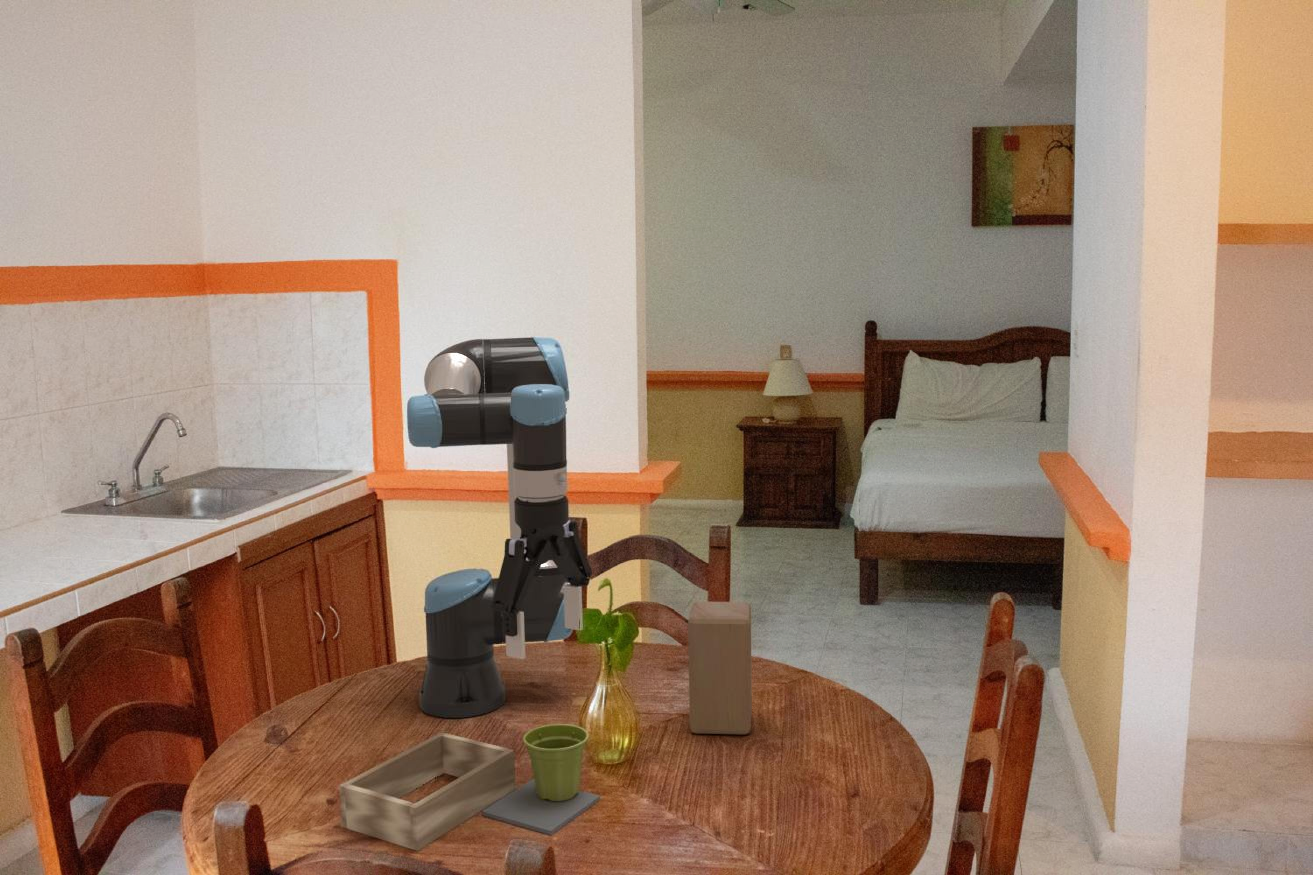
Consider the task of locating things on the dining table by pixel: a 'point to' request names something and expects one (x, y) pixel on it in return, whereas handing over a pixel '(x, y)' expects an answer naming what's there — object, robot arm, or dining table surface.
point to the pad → (538, 809)
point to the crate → (416, 825)
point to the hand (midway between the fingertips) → (545, 642)
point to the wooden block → (720, 667)
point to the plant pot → (556, 759)
